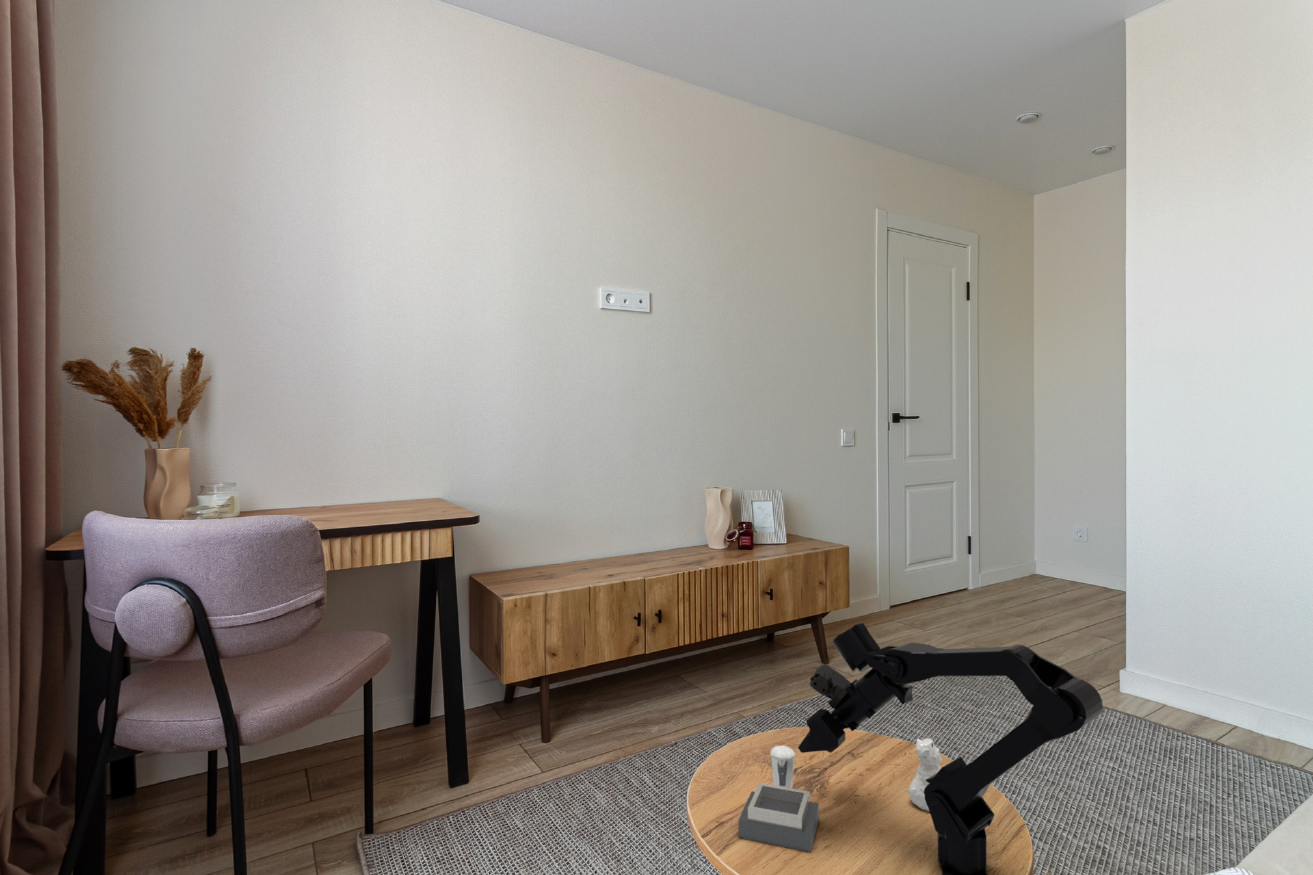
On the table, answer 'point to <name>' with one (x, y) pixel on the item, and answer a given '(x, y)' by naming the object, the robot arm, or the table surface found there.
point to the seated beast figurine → (924, 771)
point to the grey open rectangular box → (780, 817)
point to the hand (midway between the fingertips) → (810, 740)
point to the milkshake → (782, 766)
